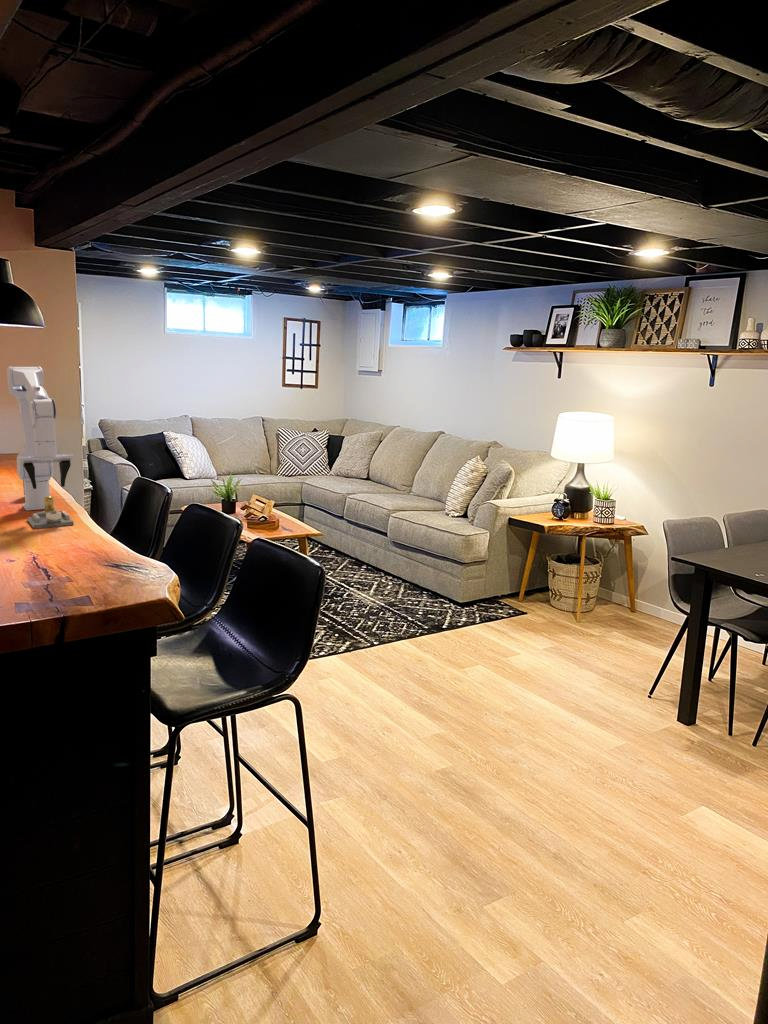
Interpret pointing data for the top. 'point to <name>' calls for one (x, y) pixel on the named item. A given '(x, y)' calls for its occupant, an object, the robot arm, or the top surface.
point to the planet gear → (49, 503)
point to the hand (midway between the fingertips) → (48, 487)
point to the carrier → (50, 519)
